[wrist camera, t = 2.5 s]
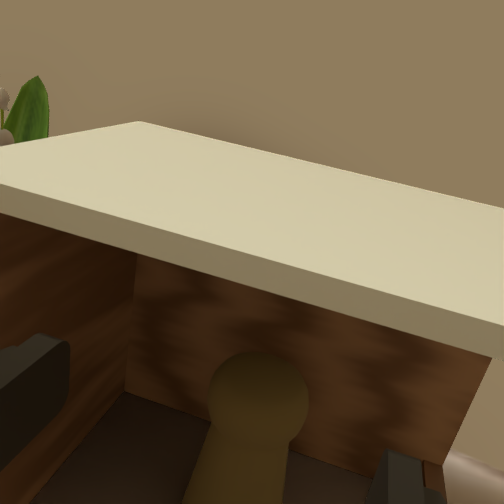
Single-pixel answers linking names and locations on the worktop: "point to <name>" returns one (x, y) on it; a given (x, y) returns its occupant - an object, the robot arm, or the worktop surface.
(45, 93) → the potted flower
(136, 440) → the worktop surface
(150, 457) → the worktop surface
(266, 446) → the cork
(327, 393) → the wooden cabinet
